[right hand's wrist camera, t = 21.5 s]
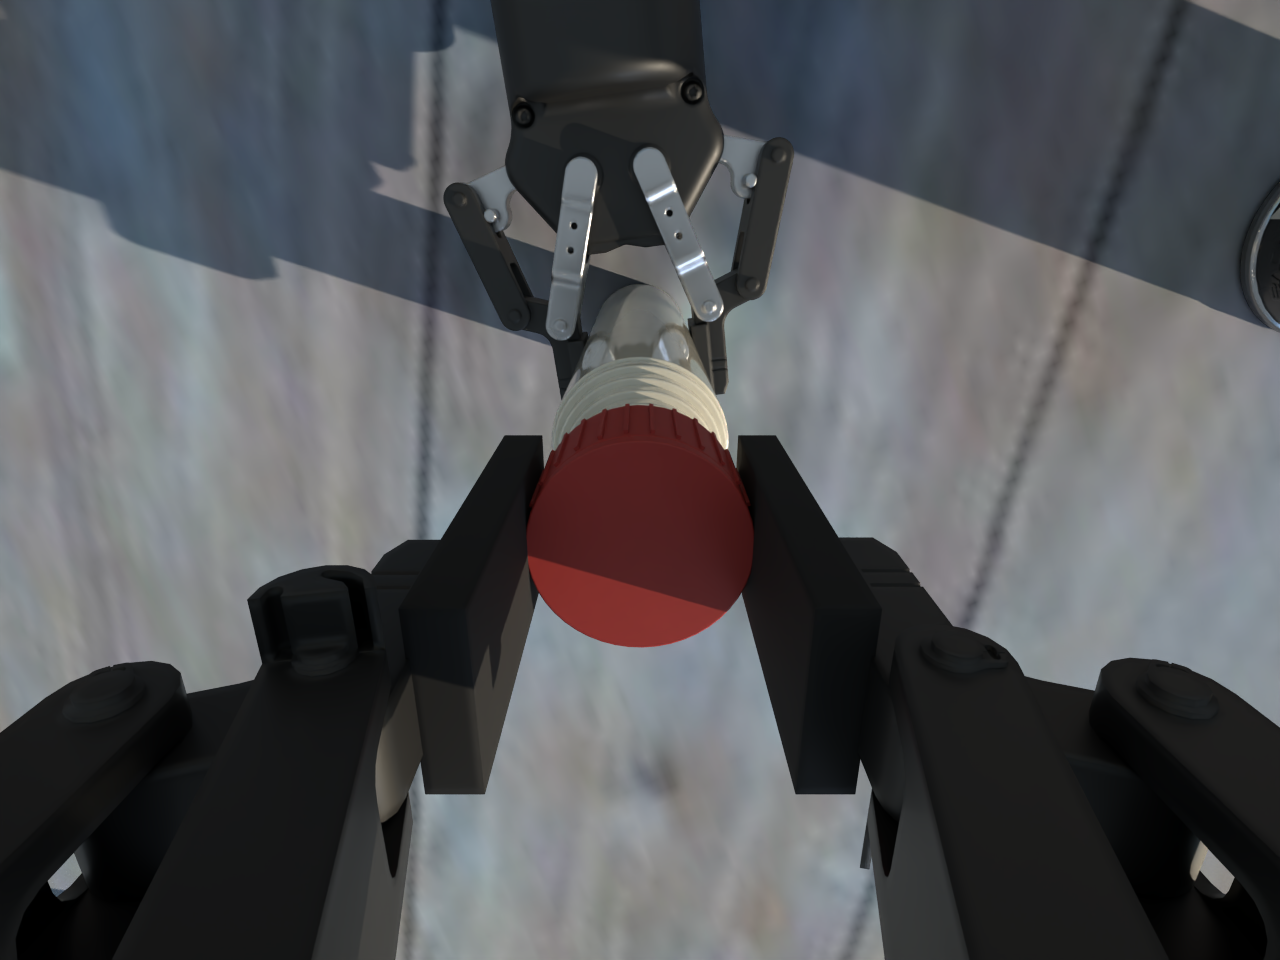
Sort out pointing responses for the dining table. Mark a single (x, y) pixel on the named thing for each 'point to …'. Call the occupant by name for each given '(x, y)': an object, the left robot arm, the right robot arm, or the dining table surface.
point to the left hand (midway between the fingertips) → (646, 410)
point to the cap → (640, 528)
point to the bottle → (639, 364)
